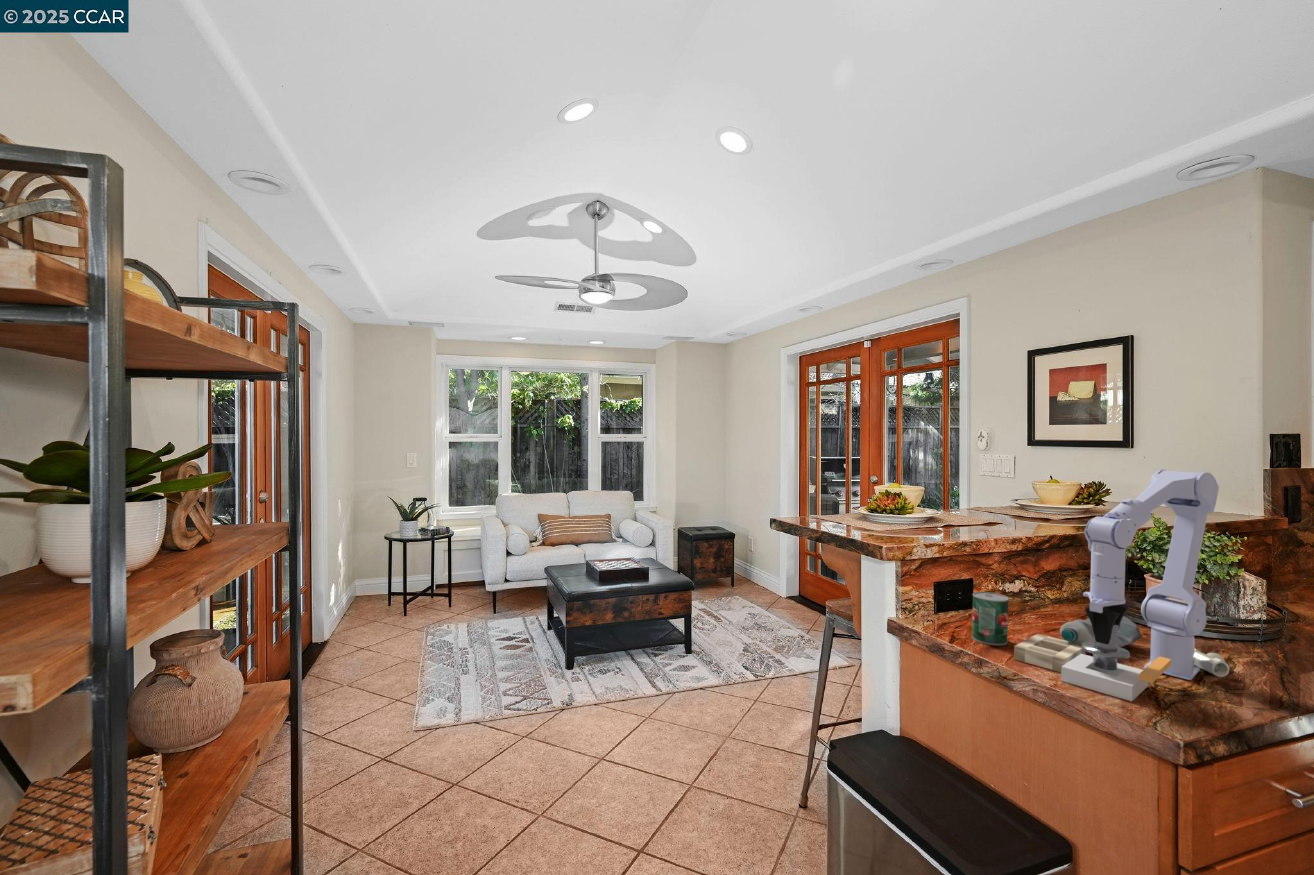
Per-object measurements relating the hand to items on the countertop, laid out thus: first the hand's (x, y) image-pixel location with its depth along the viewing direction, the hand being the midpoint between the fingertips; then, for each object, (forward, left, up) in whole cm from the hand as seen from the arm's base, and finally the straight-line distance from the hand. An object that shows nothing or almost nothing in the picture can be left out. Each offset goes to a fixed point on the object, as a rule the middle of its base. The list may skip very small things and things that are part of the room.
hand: (1105, 640), depth 126 cm
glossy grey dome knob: (0, 0, -6) cm, 6 cm away
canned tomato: (-8, -26, -9) cm, 29 cm away
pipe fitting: (-28, +13, -10) cm, 32 cm away
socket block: (0, 0, -9) cm, 9 cm away
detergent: (-23, -8, -9) cm, 26 cm away
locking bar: (-3, +8, -5) cm, 10 cm away
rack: (-6, -12, -9) cm, 16 cm away
